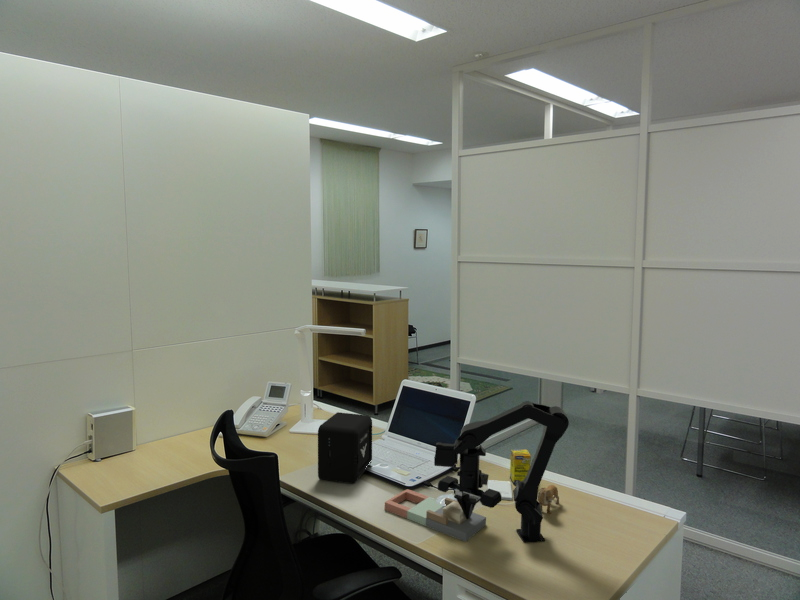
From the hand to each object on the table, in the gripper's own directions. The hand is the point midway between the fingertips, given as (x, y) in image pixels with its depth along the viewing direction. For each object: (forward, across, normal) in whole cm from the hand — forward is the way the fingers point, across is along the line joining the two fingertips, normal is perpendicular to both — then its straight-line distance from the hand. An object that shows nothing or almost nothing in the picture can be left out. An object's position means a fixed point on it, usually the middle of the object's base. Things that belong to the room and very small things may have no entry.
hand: (468, 518), depth 157 cm
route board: (+4, +12, 0) cm, 13 cm away
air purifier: (+4, +56, -7) cm, 57 cm away
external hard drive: (+4, +4, -29) cm, 30 cm away
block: (+1, +4, 0) cm, 4 cm away
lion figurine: (+4, -14, -28) cm, 31 cm away
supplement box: (+4, +2, -41) cm, 41 cm away
